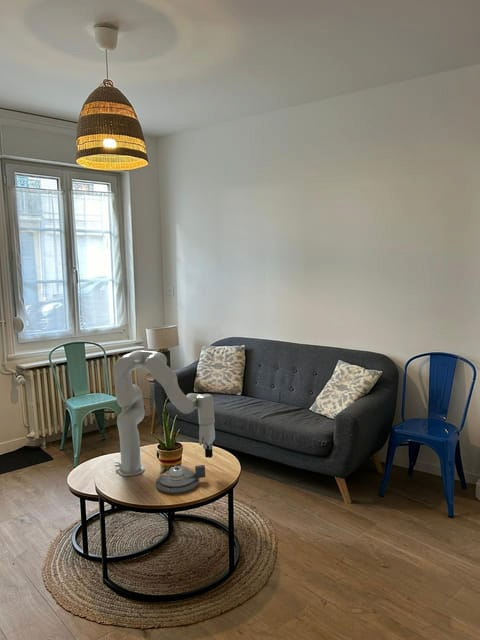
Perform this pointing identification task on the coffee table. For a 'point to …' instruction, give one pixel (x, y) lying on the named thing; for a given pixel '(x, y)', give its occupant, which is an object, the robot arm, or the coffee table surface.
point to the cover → (176, 473)
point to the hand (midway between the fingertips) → (209, 456)
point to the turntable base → (177, 490)
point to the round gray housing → (188, 479)
